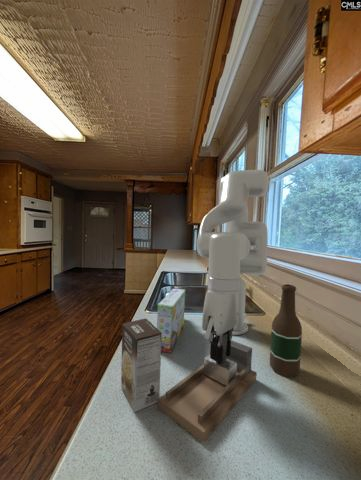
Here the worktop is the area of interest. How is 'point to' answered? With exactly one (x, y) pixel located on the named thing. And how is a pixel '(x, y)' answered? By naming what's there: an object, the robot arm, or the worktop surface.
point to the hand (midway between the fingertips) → (220, 356)
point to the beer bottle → (286, 336)
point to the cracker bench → (208, 395)
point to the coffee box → (141, 363)
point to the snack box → (171, 318)
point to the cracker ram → (221, 366)
